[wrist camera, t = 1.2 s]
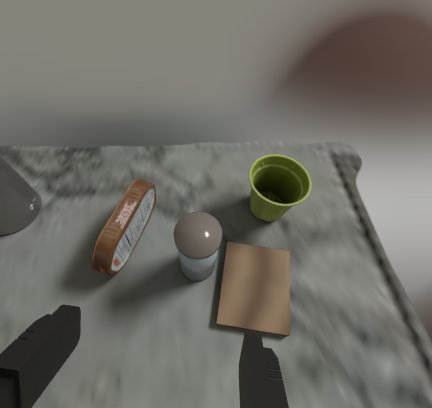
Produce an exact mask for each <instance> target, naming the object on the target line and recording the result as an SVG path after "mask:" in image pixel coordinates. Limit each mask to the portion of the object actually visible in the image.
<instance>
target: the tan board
mask: <svg viewBox="0 0 432 408" xmlns="http://www.w3.org/2000/svg"><path fill="white" fill-rule="evenodd" d="M216 324H217V325H223V326H230V327H236V328H242V329H248V330H254V331H260V332H266V333H272V334H278V335H284V336H290V251H284V250H278V249H271V248H265V247H259V246H252V245H246V244H240V243H234V242H227V245H226V253H225V260H224V268H223V275H222V283H221V291H220V298H219V306H218V313H217V321H216Z"/></svg>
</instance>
